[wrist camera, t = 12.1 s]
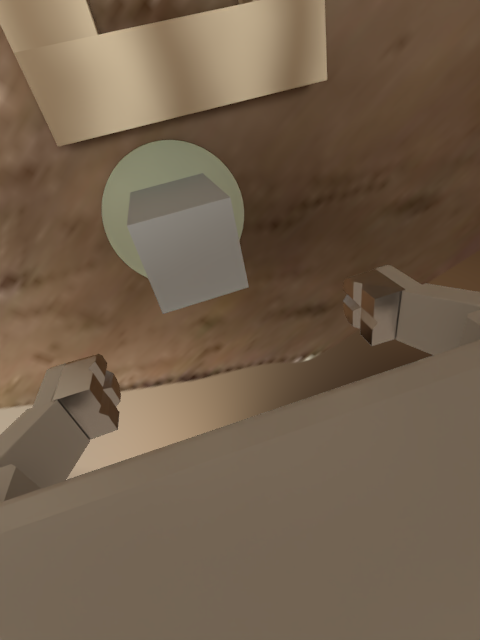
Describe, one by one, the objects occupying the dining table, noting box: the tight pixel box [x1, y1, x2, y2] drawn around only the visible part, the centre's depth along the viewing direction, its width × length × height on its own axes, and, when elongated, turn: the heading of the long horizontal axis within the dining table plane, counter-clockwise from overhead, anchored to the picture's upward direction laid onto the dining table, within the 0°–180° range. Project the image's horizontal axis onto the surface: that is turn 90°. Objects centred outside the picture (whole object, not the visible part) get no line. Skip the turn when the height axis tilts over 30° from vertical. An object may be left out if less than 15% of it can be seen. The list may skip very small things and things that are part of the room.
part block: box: [127, 173, 249, 314], centre depth 20 cm, size 5×5×8 cm
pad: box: [102, 140, 244, 278], centre depth 23 cm, size 10×10×1 cm
